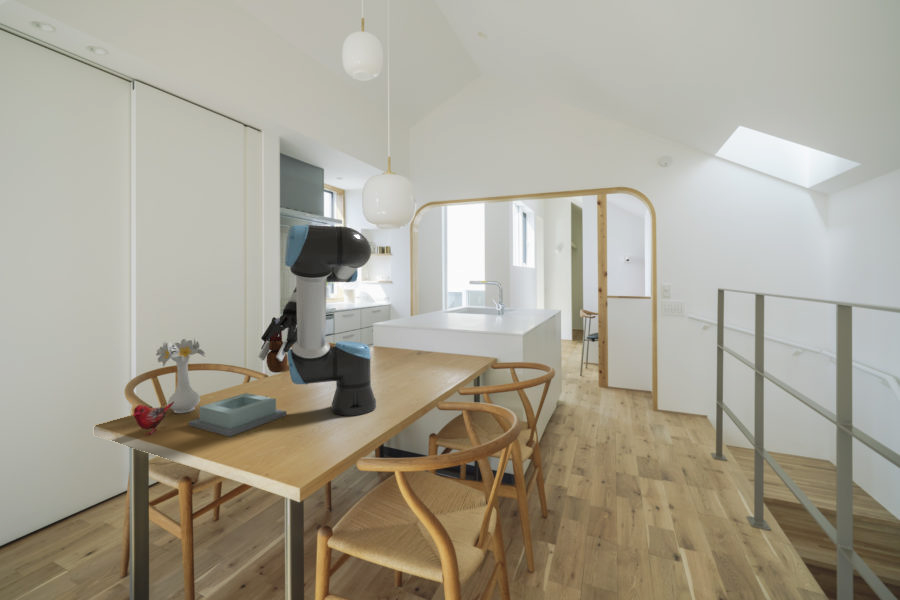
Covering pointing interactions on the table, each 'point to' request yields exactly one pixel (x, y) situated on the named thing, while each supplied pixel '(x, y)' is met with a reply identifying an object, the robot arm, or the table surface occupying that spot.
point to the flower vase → (181, 373)
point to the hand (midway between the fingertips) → (270, 358)
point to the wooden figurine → (275, 346)
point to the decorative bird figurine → (149, 416)
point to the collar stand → (237, 414)
